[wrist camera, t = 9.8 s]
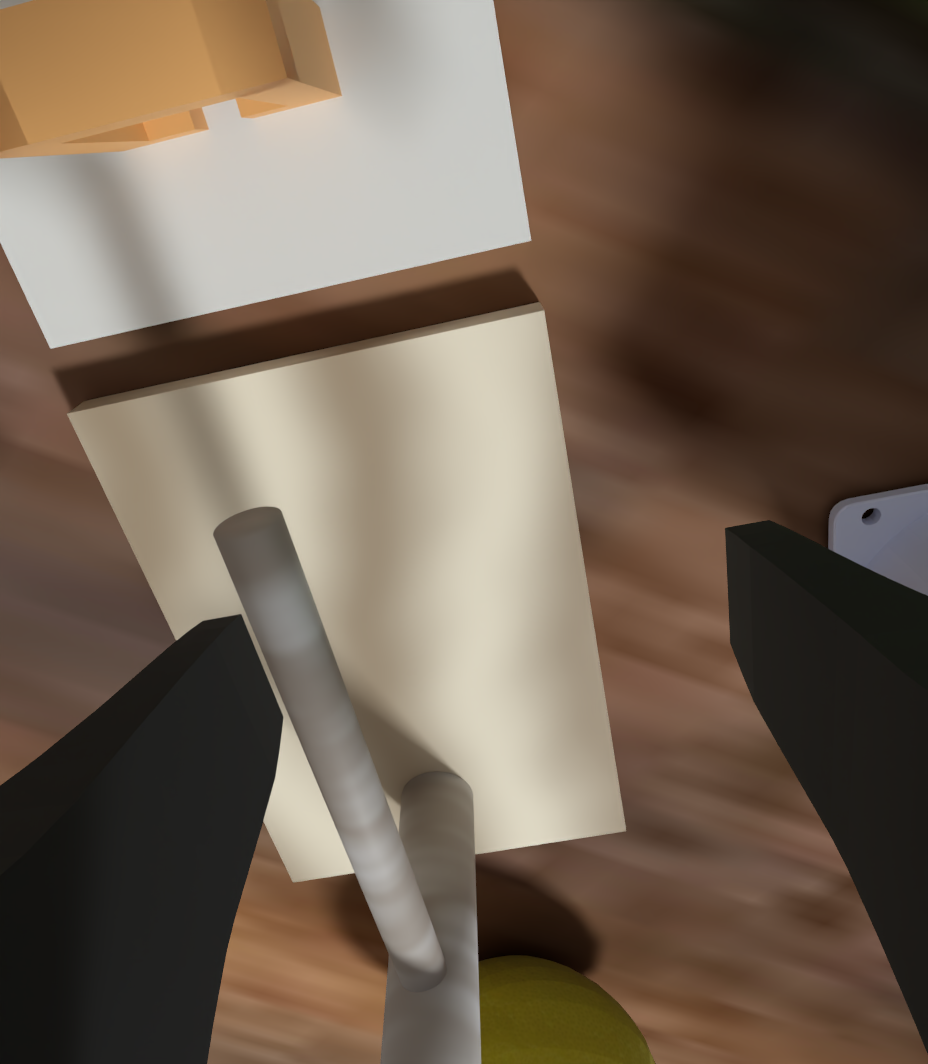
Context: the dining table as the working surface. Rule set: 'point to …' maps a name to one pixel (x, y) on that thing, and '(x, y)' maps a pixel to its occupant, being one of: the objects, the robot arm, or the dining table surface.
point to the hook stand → (389, 616)
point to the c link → (151, 69)
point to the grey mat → (282, 184)
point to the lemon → (551, 1017)
